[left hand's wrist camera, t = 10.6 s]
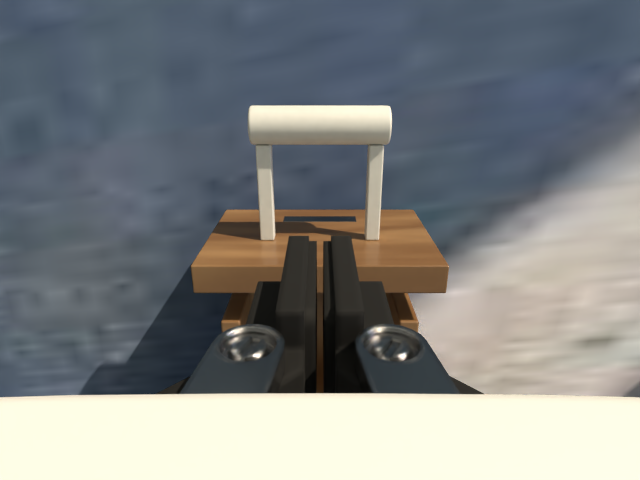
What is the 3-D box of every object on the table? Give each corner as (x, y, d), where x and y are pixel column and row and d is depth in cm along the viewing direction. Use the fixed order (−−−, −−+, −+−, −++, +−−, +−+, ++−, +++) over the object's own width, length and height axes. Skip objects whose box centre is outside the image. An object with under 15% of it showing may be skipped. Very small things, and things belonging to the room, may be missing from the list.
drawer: (217, 98, 22) (171, 113, 15) (422, 98, 22) (467, 113, 15) (244, 430, 29) (222, 537, 23) (395, 431, 29) (417, 537, 23)
